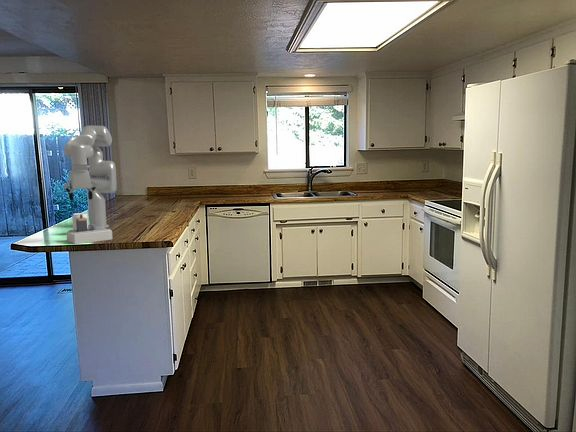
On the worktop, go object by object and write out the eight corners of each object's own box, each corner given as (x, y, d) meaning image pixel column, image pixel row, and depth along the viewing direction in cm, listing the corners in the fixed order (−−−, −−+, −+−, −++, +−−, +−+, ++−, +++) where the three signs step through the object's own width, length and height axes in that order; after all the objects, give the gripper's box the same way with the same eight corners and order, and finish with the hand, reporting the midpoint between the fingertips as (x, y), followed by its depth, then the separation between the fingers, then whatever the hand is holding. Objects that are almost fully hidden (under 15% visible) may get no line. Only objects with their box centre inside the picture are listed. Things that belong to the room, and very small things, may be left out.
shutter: (88, 229, 252) (88, 224, 252) (101, 228, 257) (101, 222, 256) (94, 231, 247) (93, 225, 246) (106, 230, 252) (106, 224, 251)
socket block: (67, 240, 247) (66, 230, 246) (103, 236, 261) (103, 226, 260) (74, 244, 238) (74, 233, 238) (112, 239, 252) (112, 229, 251)
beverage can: (85, 232, 273) (84, 212, 271) (90, 234, 267) (89, 214, 265) (71, 233, 268) (70, 213, 266) (75, 235, 262) (74, 215, 260)
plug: (76, 236, 247) (75, 214, 245) (84, 235, 250) (83, 213, 248) (80, 237, 243) (78, 215, 242) (87, 236, 246) (86, 214, 244)
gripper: (93, 167, 251) (94, 198, 253) (59, 168, 239) (61, 200, 241) (98, 168, 245) (100, 199, 248) (64, 168, 233) (66, 201, 236)
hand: (81, 199), depth 244 cm, fingers open, 9 cm apart
